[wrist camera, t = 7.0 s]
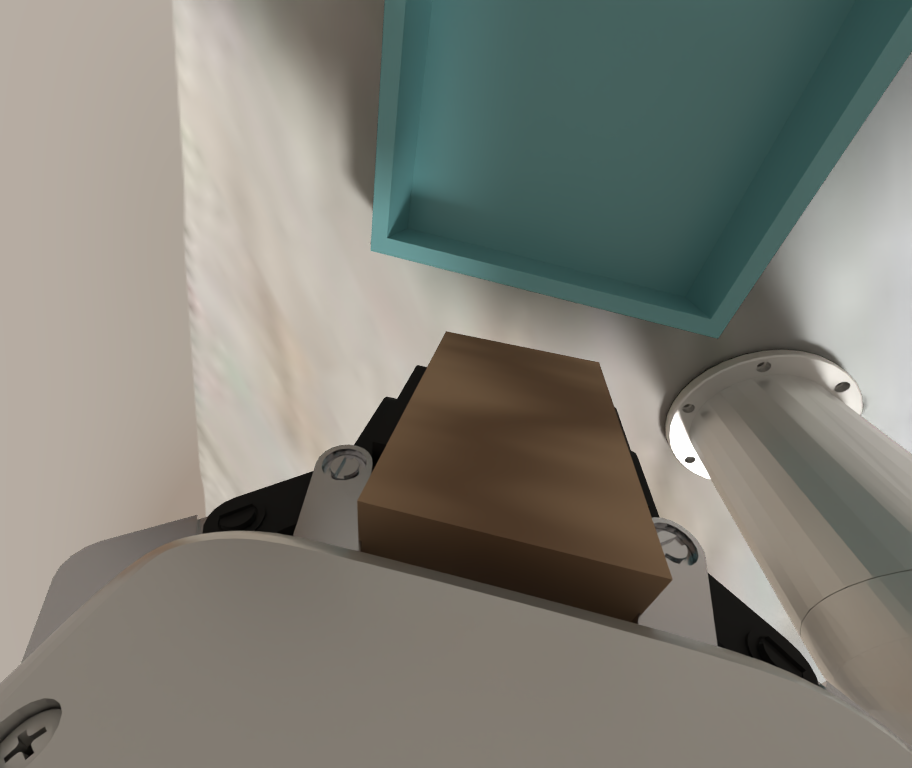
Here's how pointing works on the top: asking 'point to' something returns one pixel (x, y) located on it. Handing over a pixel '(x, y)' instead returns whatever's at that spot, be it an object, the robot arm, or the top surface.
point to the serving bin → (620, 140)
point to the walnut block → (516, 481)
